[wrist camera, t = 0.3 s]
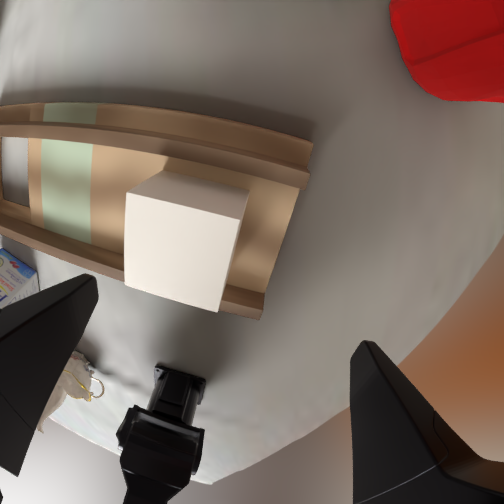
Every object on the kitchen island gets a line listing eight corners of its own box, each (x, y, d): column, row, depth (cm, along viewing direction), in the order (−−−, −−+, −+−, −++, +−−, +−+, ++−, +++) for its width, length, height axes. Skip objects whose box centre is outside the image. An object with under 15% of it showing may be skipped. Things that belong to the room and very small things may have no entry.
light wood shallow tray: (258, 301, 24) (254, 333, 21) (2, 220, 23) (-19, 235, 19) (310, 141, 17) (318, 148, 14) (-1, 106, 16) (-28, 112, 13)
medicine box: (38, 271, 26) (-5, 314, 18) (41, 296, 28) (4, 339, 20) (2, 246, 25) (-40, 281, 17) (6, 271, 27) (-31, 307, 19)
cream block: (230, 267, 20) (217, 312, 16) (153, 247, 20) (124, 284, 16) (249, 190, 18) (239, 220, 13) (162, 170, 17) (126, 192, 13)
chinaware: (108, 341, 32) (50, 435, 17) (117, 404, 39) (83, 478, 24) (-12, 278, 31) (-69, 327, 16) (8, 344, 38) (-32, 393, 22)
